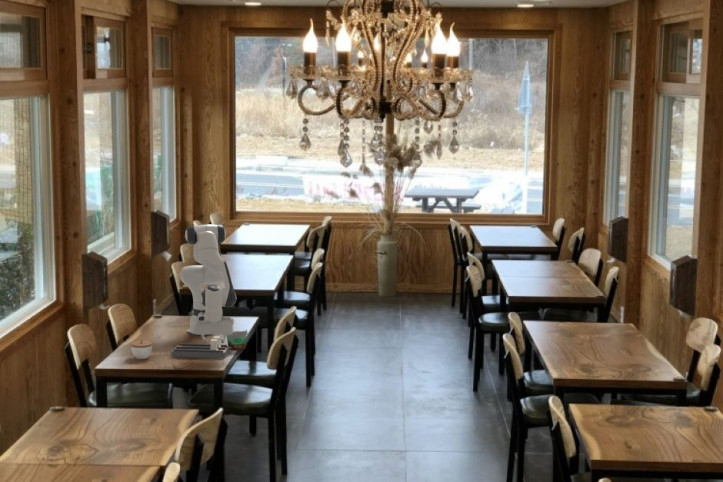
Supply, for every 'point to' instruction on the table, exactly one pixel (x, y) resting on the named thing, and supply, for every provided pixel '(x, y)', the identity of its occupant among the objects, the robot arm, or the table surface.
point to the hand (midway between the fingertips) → (213, 342)
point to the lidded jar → (141, 349)
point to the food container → (237, 340)
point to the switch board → (199, 351)
